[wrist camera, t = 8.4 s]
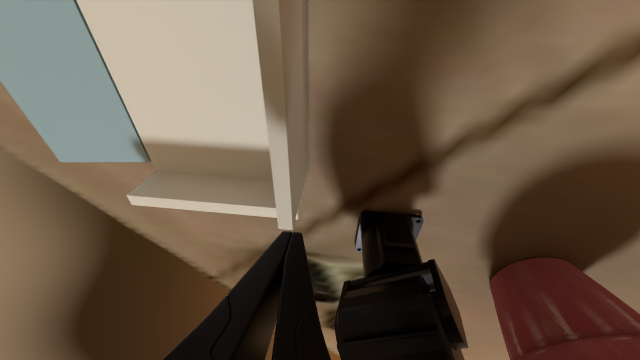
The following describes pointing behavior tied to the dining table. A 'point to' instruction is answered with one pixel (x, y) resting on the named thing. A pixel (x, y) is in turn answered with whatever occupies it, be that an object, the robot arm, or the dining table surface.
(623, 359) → the plant pot
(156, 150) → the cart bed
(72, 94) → the tailgate
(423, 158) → the dining table surface
